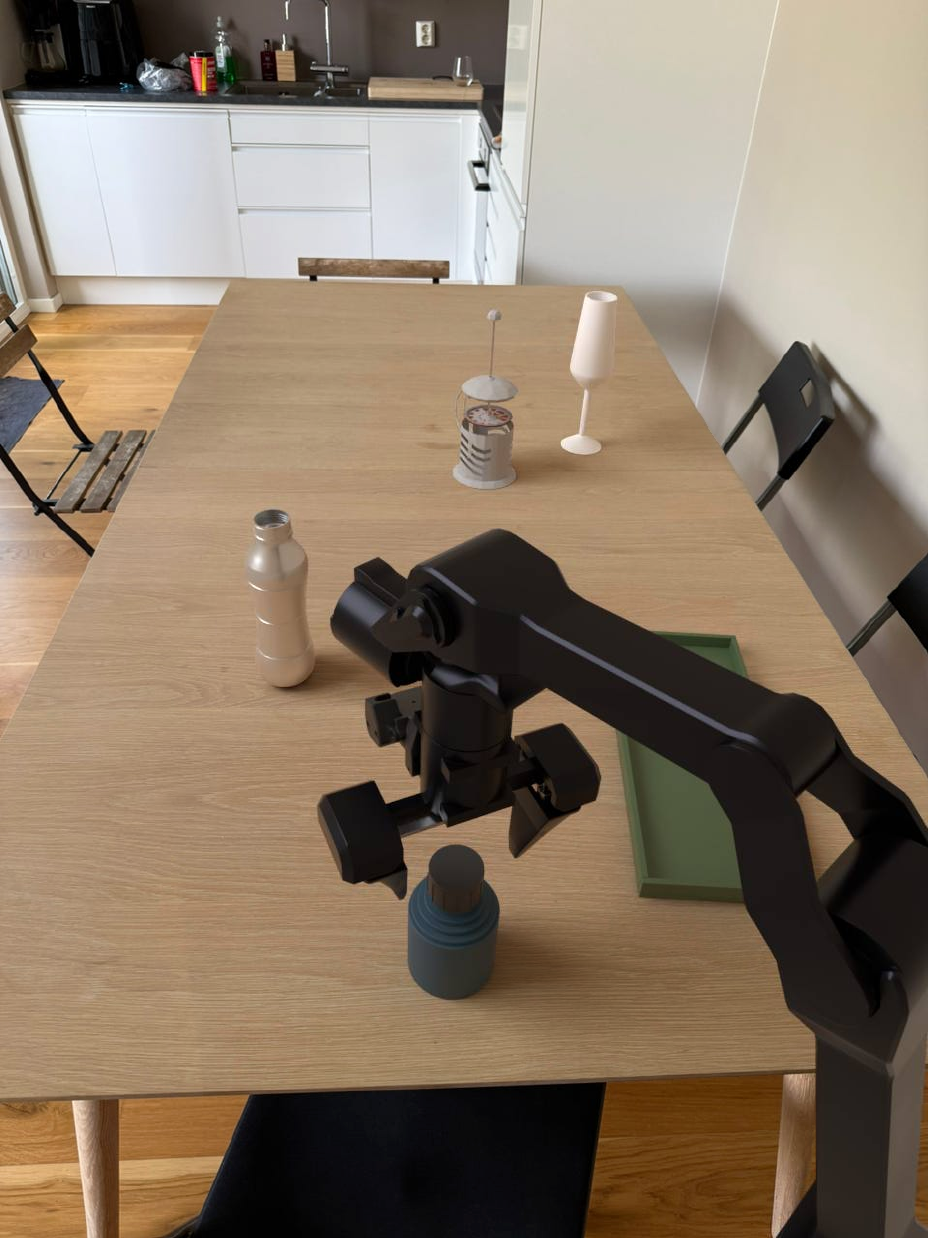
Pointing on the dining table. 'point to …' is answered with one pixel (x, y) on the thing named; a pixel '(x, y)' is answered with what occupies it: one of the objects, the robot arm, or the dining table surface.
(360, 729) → the dining table surface
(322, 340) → the dining table surface
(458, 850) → the flask cap
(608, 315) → the champagne flute
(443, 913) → the flask
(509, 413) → the french press
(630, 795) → the tray
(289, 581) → the plastic bottle
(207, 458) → the dining table surface
